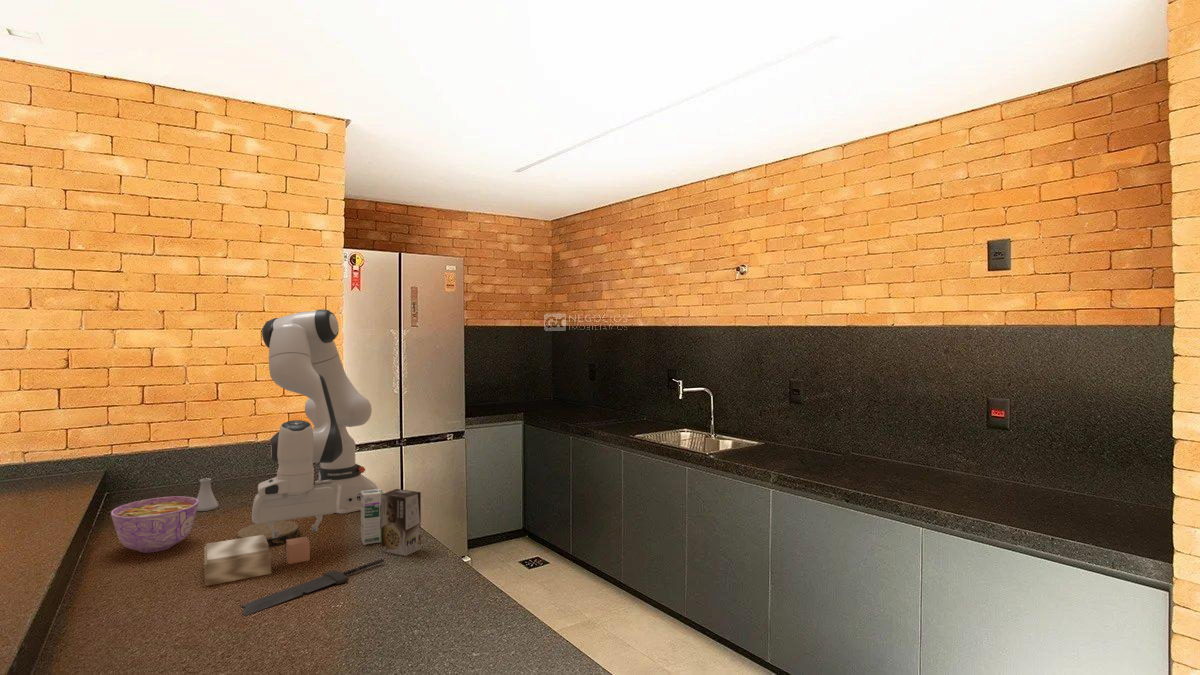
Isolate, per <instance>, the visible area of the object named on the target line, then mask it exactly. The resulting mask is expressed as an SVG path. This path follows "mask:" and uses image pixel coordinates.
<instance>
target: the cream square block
mask: <svg viewBox="0 0 1200 675" xmlns="http://www.w3.org/2000/svg"><path fill="white" fill-rule="evenodd" d="M205 544H206V545H205V546H204V547H203V554H204V556H203V562H204V563H203V565H204V567H203V568H204V569H203V570H204V571H203V572H204V586H205V587H208V586H213V585H218V584H223V583H228V582H234V581H238V580H239V581H241V580H243V579H244V580H245V579H248V578H255V577H260V576H265V575H266V576H267V575H270V574H272V552H271V548H270V547H269V545H268V542H267V539H266V537H264V535H258V536H252V537H246V538H239V539H237V538H235V539H227V540H222V541H215V542H214V541H213V542H208V543H205Z"/></svg>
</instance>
